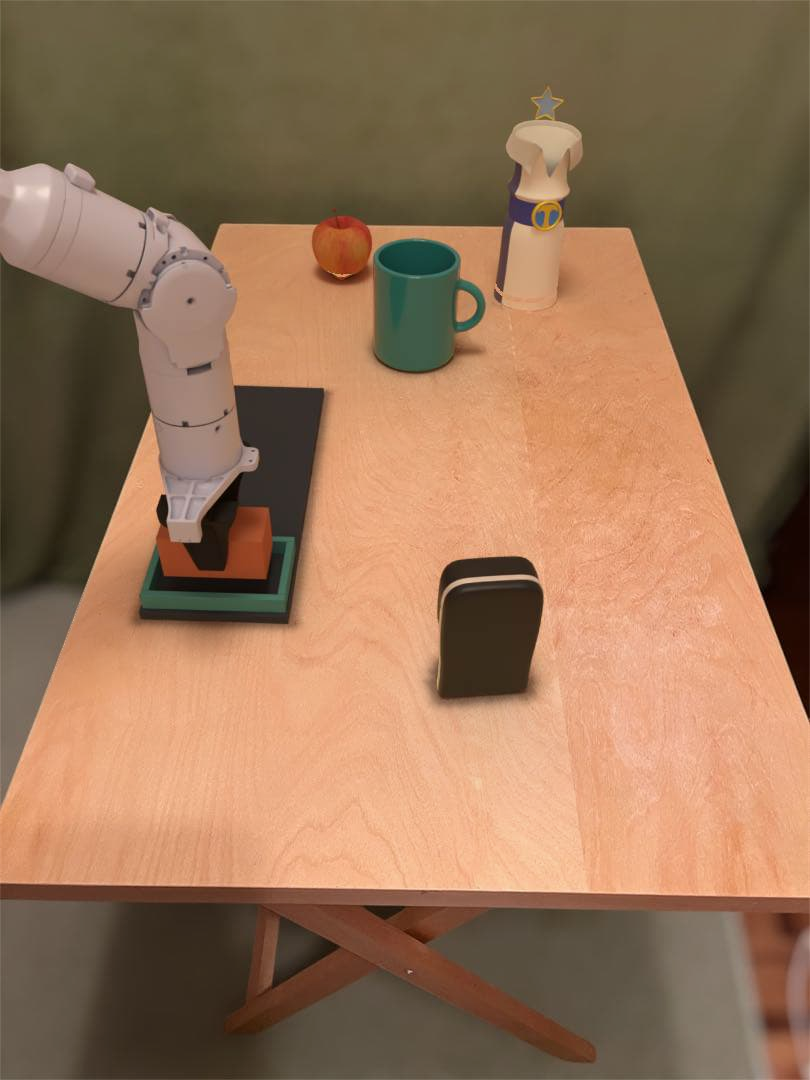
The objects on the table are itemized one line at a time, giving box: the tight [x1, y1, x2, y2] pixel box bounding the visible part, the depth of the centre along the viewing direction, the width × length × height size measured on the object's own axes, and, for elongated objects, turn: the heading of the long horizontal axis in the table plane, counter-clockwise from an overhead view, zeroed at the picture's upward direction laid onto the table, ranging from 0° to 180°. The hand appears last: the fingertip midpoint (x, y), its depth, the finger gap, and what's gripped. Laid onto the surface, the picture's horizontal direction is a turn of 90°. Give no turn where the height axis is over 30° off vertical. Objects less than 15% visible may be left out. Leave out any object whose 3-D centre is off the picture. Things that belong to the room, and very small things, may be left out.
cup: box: [372, 237, 487, 373], centre depth 97 cm, size 9×12×11 cm
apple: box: [311, 207, 373, 281], centre depth 112 cm, size 7×7×8 cm
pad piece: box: [155, 507, 273, 579], centre depth 71 cm, size 4×8×4 cm, turn 89°
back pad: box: [138, 384, 325, 625], centre depth 82 cm, size 32×12×2 cm, turn 179°
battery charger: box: [436, 555, 545, 697], centre depth 64 cm, size 7×4×11 cm, turn 96°
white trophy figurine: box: [493, 85, 584, 312], centre depth 103 cm, size 8×9×25 cm
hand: (217, 547), depth 72 cm, fingers closed on pad piece, 4 cm apart
